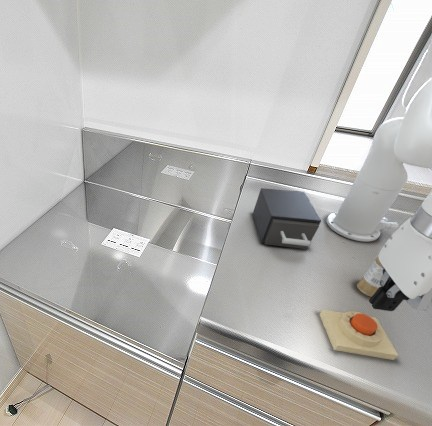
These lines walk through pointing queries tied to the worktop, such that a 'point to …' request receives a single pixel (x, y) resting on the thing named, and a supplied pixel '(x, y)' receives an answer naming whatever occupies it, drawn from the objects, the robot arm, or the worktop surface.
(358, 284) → the sprinkles bottle
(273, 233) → the drawer
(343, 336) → the control pad
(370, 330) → the button
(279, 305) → the worktop surface
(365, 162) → the robot arm
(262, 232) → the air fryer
